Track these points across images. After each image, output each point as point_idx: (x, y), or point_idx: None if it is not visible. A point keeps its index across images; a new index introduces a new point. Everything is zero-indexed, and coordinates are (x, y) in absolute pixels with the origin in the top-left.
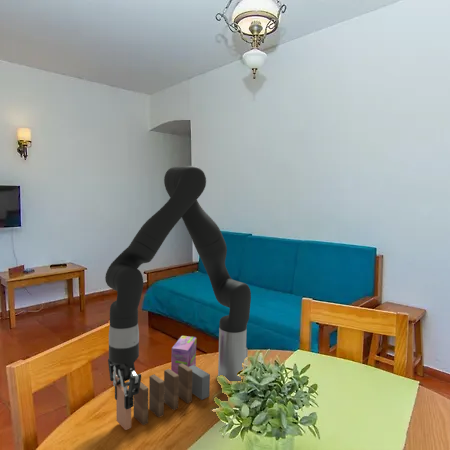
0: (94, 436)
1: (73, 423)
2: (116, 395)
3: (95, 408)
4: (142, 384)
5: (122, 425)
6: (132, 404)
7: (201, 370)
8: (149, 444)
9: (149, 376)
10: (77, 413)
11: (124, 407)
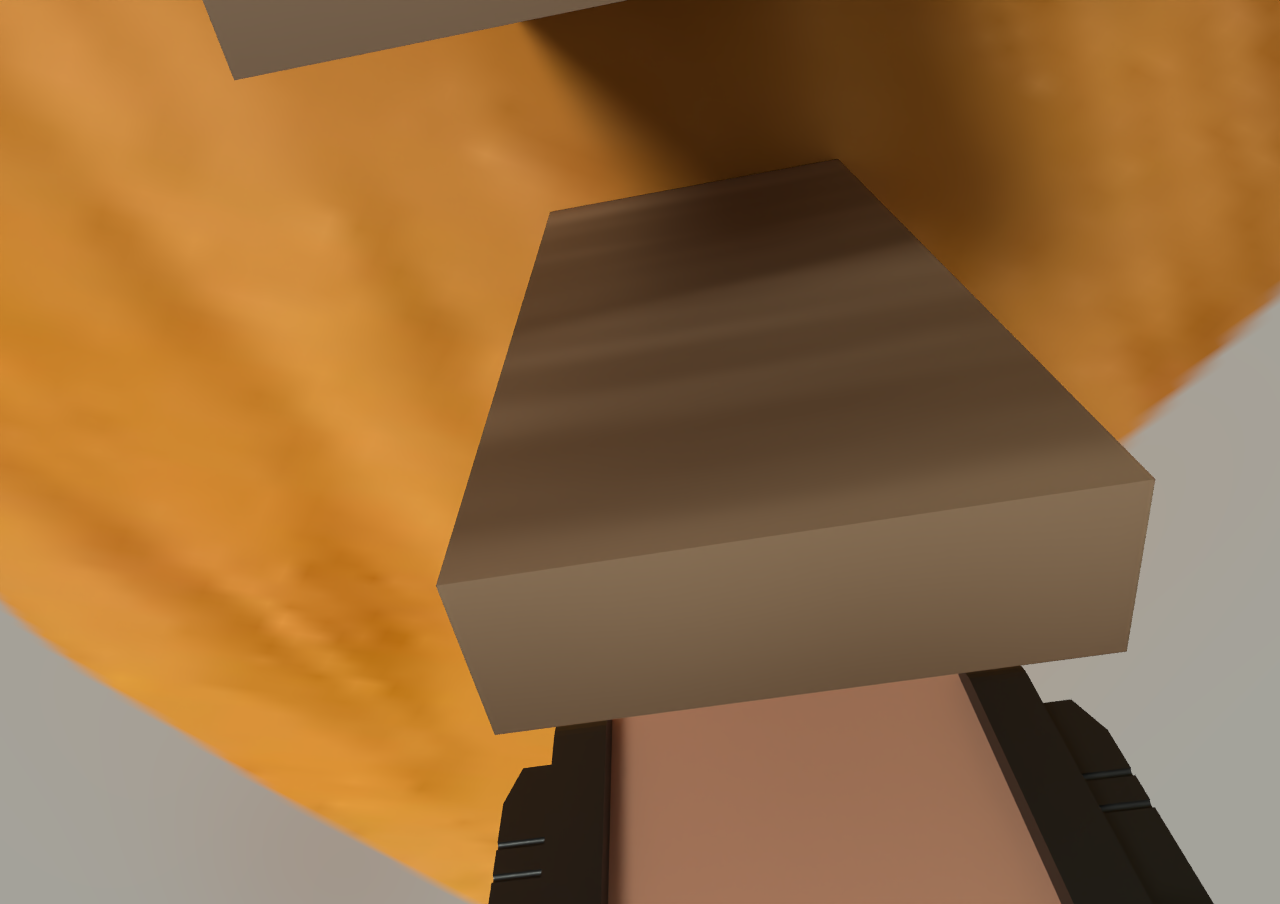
0: None
1: (398, 806)
2: None
3: (197, 628)
4: (797, 575)
5: None
6: (1113, 754)
7: None
8: (1243, 308)
9: (238, 74)
10: (238, 765)
11: None
